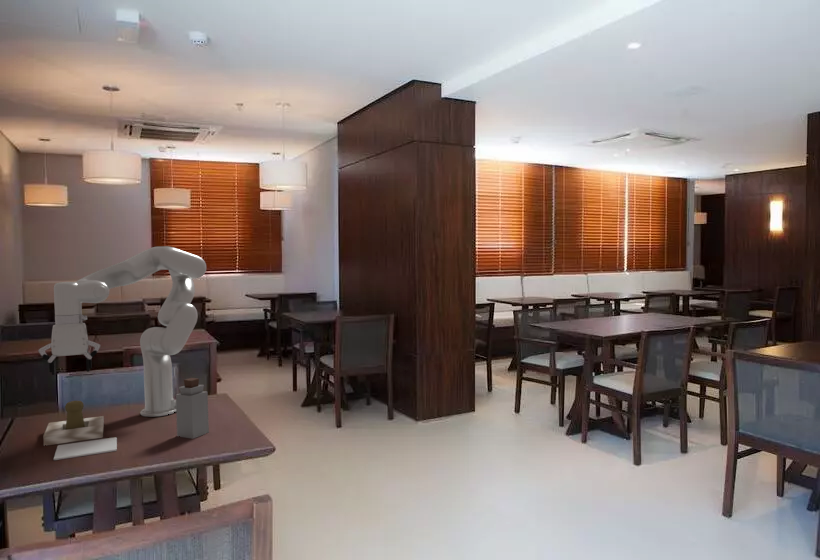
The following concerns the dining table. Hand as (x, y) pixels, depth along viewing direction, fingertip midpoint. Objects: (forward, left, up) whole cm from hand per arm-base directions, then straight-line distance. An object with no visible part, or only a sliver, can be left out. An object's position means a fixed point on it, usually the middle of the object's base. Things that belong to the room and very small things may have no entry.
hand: (71, 372), depth 186 cm
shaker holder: (0, 0, -20) cm, 20 cm away
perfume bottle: (-34, +19, -21) cm, 45 cm away
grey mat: (-4, +18, -20) cm, 28 cm away
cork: (0, 0, -21) cm, 21 cm away
